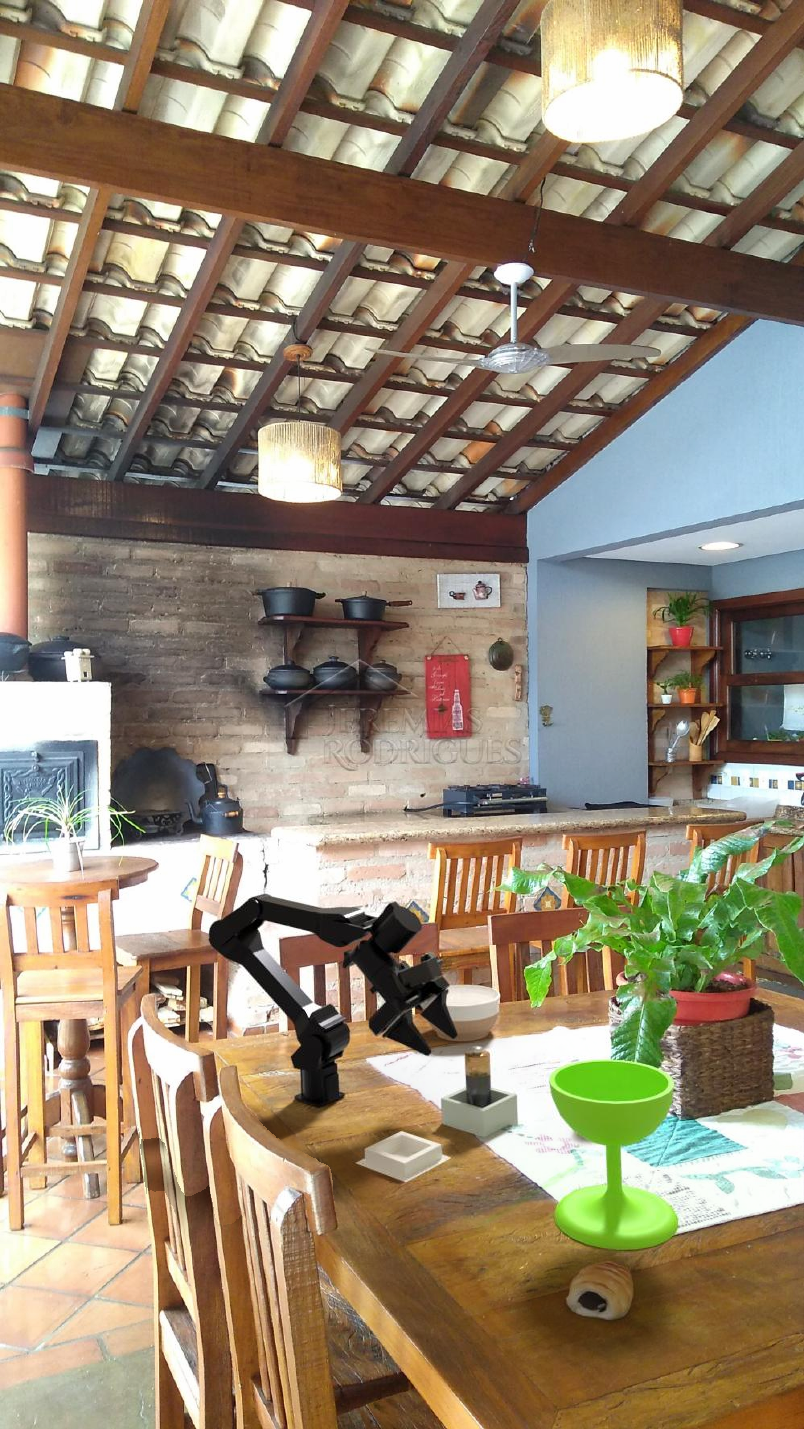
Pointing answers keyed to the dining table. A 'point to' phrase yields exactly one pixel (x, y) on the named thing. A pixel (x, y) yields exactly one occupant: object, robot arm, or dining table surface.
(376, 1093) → the dining table surface
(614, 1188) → the wineglass
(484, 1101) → the cell
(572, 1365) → the dining table surface
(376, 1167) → the cradle
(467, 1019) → the bowl
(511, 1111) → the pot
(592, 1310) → the pastry
